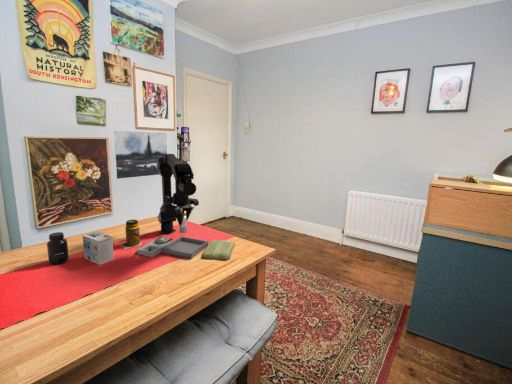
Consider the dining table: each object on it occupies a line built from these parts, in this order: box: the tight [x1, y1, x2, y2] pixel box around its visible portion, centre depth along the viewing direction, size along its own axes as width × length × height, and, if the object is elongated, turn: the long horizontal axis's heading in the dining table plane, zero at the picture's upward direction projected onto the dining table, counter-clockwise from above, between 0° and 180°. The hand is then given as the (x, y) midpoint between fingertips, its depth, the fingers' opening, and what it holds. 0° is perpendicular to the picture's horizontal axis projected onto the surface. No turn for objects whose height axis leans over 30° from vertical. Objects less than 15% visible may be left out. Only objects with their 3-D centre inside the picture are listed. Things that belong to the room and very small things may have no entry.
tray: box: [161, 235, 209, 260], centre depth 127 cm, size 15×15×2 cm
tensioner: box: [136, 235, 174, 258], centre depth 127 cm, size 16×9×3 cm, turn 161°
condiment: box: [119, 219, 144, 250], centre depth 129 cm, size 7×8×12 cm
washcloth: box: [202, 239, 236, 261], centre depth 127 cm, size 13×18×3 cm
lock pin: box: [178, 210, 188, 234], centre depth 124 cm, size 3×3×10 cm
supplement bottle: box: [46, 231, 70, 265], centre depth 110 cm, size 7×7×12 cm
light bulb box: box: [82, 230, 115, 266], centre depth 114 cm, size 11×7×11 cm, turn 62°
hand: (182, 223), depth 124 cm, fingers closed on lock pin, 3 cm apart
